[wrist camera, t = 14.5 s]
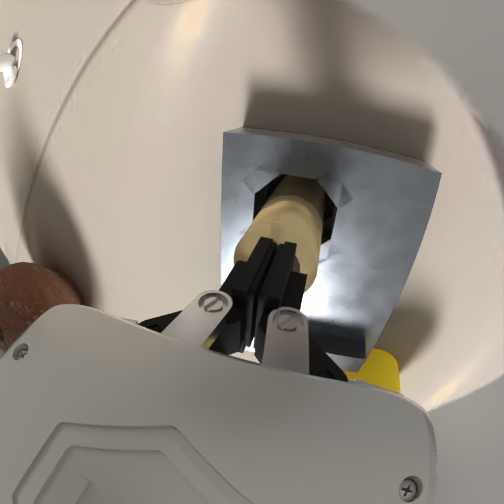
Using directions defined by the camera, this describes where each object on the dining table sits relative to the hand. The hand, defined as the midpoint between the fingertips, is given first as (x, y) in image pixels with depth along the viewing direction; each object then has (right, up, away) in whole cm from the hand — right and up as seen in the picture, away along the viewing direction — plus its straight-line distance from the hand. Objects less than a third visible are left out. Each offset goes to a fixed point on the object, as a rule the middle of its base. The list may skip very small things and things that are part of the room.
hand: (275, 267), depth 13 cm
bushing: (+3, +5, +8) cm, 10 cm away
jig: (+4, +1, +10) cm, 11 cm away
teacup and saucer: (-40, +29, +9) cm, 50 cm away
